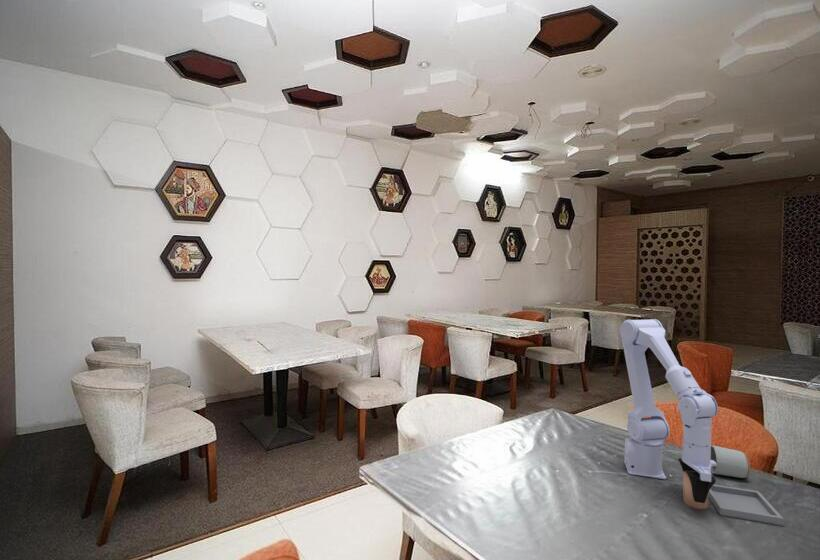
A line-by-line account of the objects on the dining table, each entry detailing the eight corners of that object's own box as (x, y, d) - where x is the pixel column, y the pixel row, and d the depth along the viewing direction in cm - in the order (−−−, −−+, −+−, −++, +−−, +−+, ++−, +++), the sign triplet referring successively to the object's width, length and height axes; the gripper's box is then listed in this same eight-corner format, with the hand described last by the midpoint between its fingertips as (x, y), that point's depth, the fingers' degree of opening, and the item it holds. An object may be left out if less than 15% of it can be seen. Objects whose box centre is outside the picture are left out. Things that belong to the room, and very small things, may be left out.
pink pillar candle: (686, 506, 100) (686, 478, 100) (680, 495, 105) (680, 469, 105) (711, 510, 98) (712, 482, 98) (704, 499, 103) (704, 472, 103)
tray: (720, 515, 97) (720, 508, 97) (703, 489, 108) (703, 482, 108) (783, 526, 93) (783, 518, 92) (758, 498, 104) (758, 491, 104)
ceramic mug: (751, 484, 111) (752, 456, 111) (715, 478, 114) (716, 451, 113) (735, 466, 121) (736, 441, 121) (703, 462, 123) (703, 437, 123)
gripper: (727, 457, 93) (726, 515, 93) (705, 433, 107) (704, 483, 107) (691, 452, 95) (690, 509, 96) (674, 429, 109) (673, 479, 110)
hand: (695, 495), depth 102 cm, fingers closed on pink pillar candle, 5 cm apart
